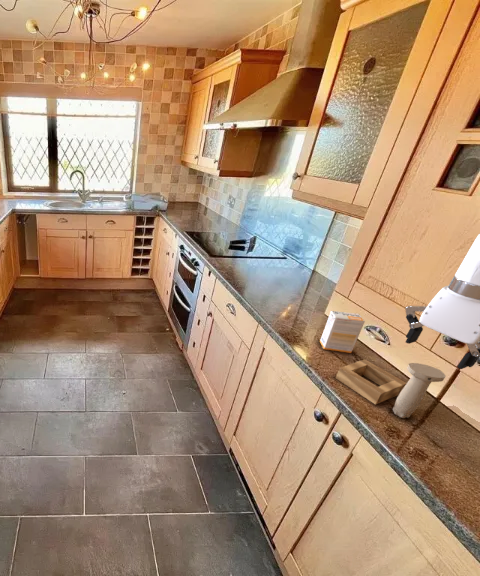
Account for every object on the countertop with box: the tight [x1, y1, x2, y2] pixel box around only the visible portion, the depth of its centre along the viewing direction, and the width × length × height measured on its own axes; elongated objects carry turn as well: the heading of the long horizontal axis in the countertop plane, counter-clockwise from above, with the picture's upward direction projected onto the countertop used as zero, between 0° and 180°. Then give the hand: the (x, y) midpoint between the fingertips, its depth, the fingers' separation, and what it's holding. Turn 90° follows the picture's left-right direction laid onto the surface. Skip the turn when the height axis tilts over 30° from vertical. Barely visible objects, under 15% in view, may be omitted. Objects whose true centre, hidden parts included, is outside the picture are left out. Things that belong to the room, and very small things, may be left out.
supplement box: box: [319, 310, 366, 354], centre depth 104 cm, size 8×5×13 cm, turn 72°
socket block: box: [335, 359, 408, 405], centre depth 89 cm, size 11×11×4 cm
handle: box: [392, 362, 447, 419], centre depth 78 cm, size 5×6×15 cm
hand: (435, 353), depth 72 cm, fingers open, 9 cm apart
